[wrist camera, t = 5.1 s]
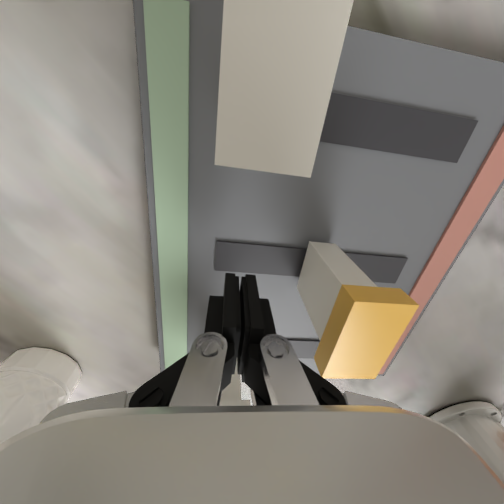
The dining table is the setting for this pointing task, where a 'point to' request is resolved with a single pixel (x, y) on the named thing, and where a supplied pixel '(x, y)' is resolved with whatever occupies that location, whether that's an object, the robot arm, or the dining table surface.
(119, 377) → the dining table surface
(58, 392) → the white cup
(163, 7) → the breaker board
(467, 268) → the dining table surface
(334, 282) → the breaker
